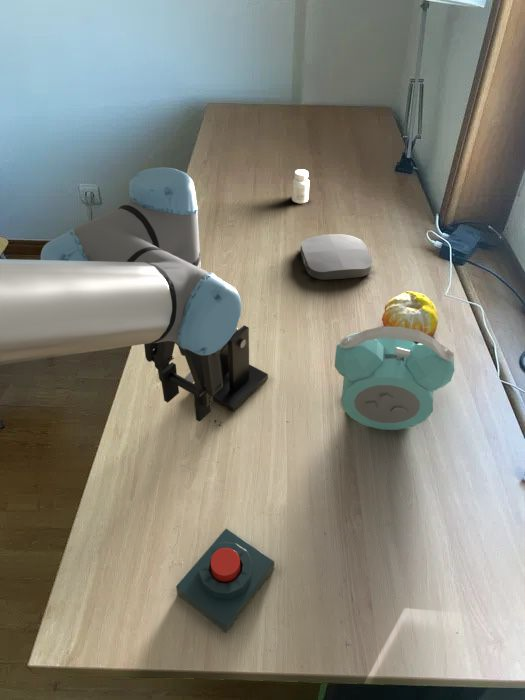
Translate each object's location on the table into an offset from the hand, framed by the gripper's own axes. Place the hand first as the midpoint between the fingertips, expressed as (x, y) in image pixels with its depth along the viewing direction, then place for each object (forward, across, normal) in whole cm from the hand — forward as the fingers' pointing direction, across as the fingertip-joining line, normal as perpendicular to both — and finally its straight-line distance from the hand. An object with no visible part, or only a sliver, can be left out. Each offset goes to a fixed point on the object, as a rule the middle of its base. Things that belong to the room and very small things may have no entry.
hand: (187, 405), depth 90 cm
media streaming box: (+4, +5, -55) cm, 56 cm away
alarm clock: (+4, -25, -20) cm, 32 cm away
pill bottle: (+4, +28, -75) cm, 80 cm away
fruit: (+4, -18, -44) cm, 47 cm away
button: (0, -22, +17) cm, 28 cm away
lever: (-5, 0, -6) cm, 8 cm away
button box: (+4, -22, +17) cm, 28 cm away
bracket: (+4, 0, -11) cm, 12 cm away
